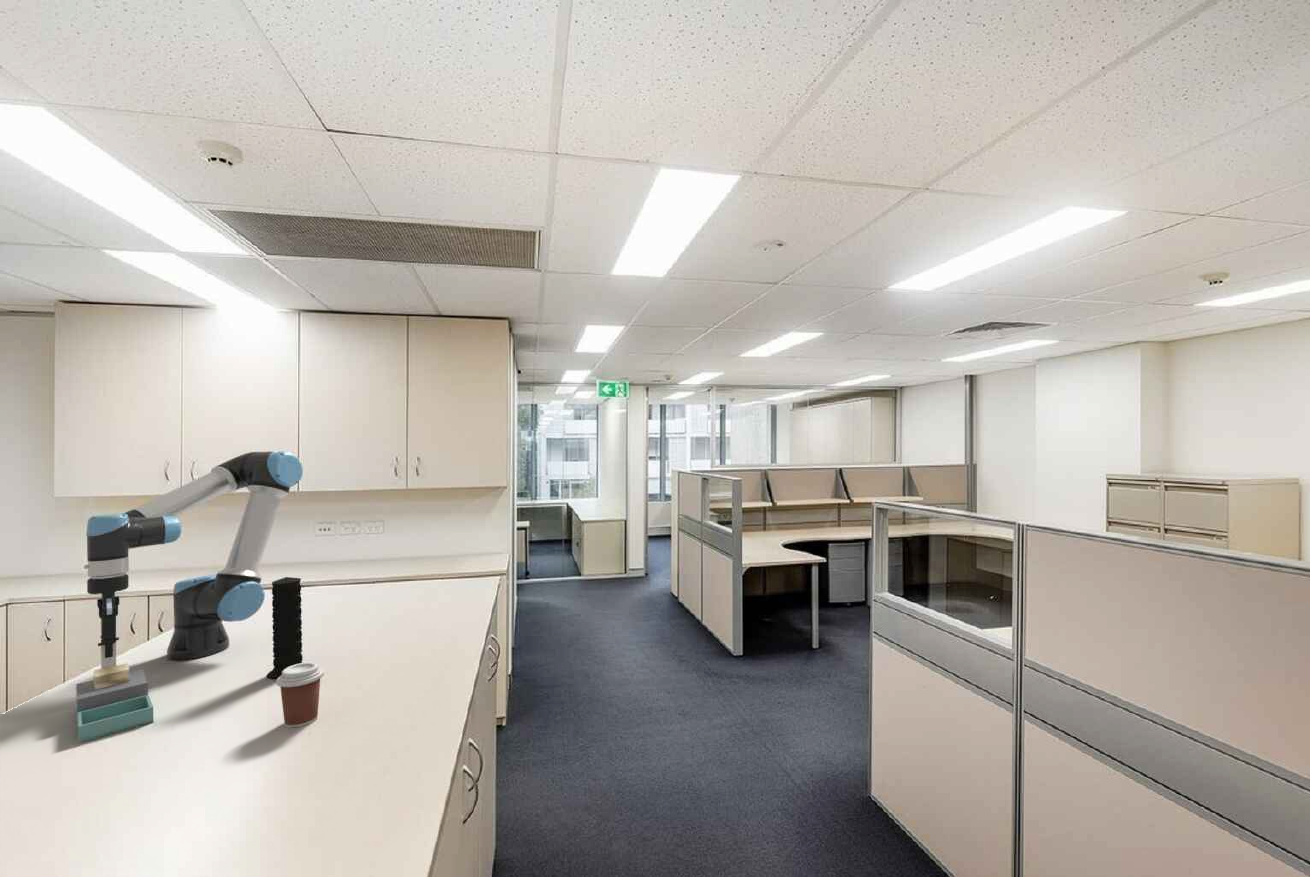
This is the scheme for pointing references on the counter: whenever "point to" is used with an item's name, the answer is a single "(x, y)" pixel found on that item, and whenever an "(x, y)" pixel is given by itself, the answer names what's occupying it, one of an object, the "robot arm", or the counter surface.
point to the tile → (111, 676)
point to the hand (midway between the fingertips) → (108, 669)
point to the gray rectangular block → (110, 692)
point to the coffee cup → (300, 693)
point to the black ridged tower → (286, 625)
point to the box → (114, 718)
